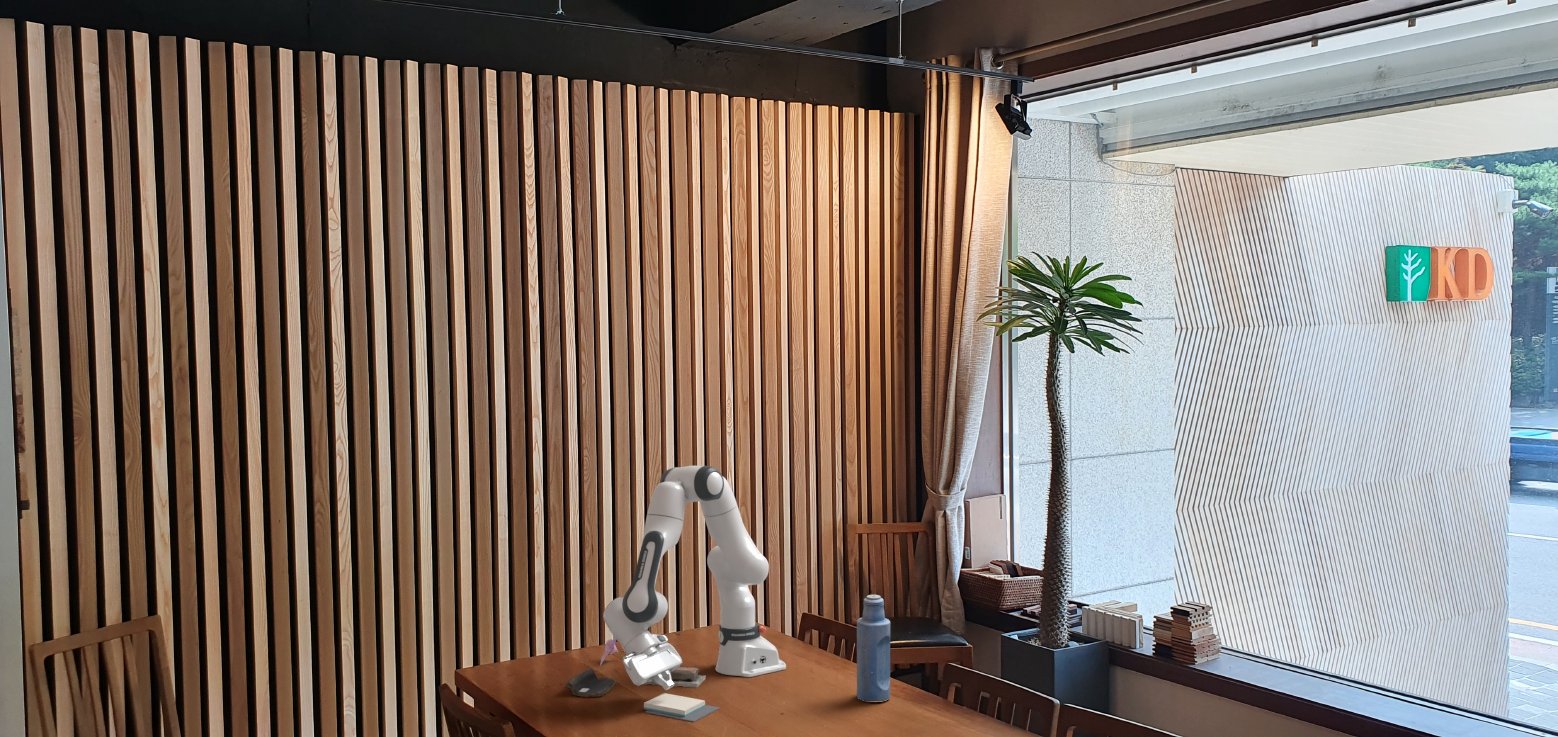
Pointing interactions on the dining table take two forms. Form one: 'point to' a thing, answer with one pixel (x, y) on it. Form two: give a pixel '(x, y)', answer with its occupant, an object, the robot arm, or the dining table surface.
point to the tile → (674, 705)
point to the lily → (610, 649)
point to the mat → (691, 717)
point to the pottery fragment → (590, 684)
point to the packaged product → (684, 677)
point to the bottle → (873, 651)
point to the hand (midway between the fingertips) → (670, 687)
